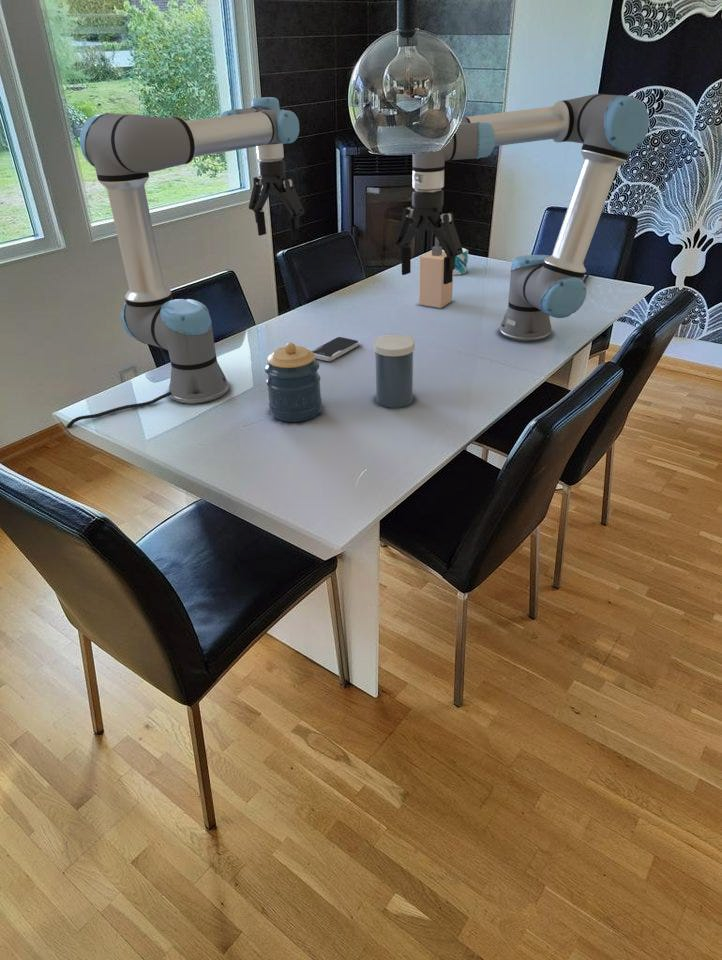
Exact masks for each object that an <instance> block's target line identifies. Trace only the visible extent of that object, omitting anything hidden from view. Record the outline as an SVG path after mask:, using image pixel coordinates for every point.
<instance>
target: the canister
mask: <svg viewBox="0 0 722 960" xmlns="http://www.w3.org/2000/svg"><path fill="white" fill-rule="evenodd" d="M312 351H313V350H309V349H308V348H306V347H304V346H299V345H296V344H294V343H293V342H287V343H286V344H285V346H283V347H279V348H277V349H275V350H274V351H273V352H272V353H270V354H269V355H268V356H267V359H266V360H267V364H265V367H264V372H265V373H266V375H267V378H266V382H265V383H266V385H267V393H268V400H269V402H268V406H269V410H270V413H271V415H272V417H273V418H275V419H276V420H279V421H282V422H288V423H289V422H290V423H296V422H297V423H298V422H304V421H308V420H311V419H313V418H315V417H317V416H318V415H319V414H320V413H321V411H322V408H323V399H322V392H321V376H320V374H319V372H318V370H319V369H320V363H319V361H318V359H316V358H315V354H314V353H313V352H312Z"/></svg>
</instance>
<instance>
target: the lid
mask: <svg viewBox="0 0 722 960" xmlns="http://www.w3.org/2000/svg"><path fill="white" fill-rule="evenodd" d="M415 343H416V342H415V339H414V338H413V337H411V336H409V335H405V334H397V333H396V334H387V335H386V334H385V335H381V336H378V337H377V338H375V339H374V340H373V352H376V353H378V354H380V355H384V356H403V355H407V354H410V353H411V352H413V353H414V351H415V347H416V344H415Z"/></svg>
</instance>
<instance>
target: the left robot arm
mask: <svg viewBox="0 0 722 960" xmlns="http://www.w3.org/2000/svg"><path fill="white" fill-rule="evenodd" d="M299 135H300V121H299V118H298V116H297V115H296V113H295V112H293V111H292V110H286V109H281V108H280V101H279V99H278V98H277V97H273V96H265V97H255V98H252V99H251V106H250V107H248V108H236V109H235V108H234V109H233V108H231V109H230V110H225V111H223V112H222V113H220V116H213V117H206V118H199V119H190V120H185V119H184V118H182V117H180V116H171V117H165V116H164V117H163V116H161V117H160V116H152V115H145V114H136V113H134V114H130V113H129V114H128V113H115V112H114V113H113V112H105V113H99V114H95V115H92V116H91V117H90V118H88V119H87V120H86V121H85V122H84V124H83V126H82V128H81V131H80V135H79V145H80V151H81V154H82V155H83V158H84V159H85V160H86V162H88V163H89V164H90V166H92V167H93V168H94V169H95V172H96V173H95V174H96V178H97V181H98V183H99V184H100V185H102V186H103V187H104V188H105V189H106V191H107V195H108V200H109V206H110V209H111V213H112V218H113V223H114V228H115V232H116V236H117V240H118V245H119V250H120V254H121V258H122V259H121V260H122V263H123V267H124V273H125V277H126V282H127V286H128V290H127V292H126V293H125V295H124V300H125V302H124V303H123V308H122V309H121V310H120V311H121V312H120V319H121V324H122V327H123V328H124V330H125V332H126V333H127V334H128V335H129V336H130V337H131V338H133V340H136V341H138V342H140V343H142V344H143V345H144V344H145V345H151V346H154V347H157V348H160V349H163V350H167V352H168V356H169V361H170V367H171V369H170V370H171V371H170V377H169V386H168V392H166V393H164V394H162V395H159V396H158V397H155V398H154V399H152V400H148V401H145V402H139V403H132V404H125V405H122V406H118V407H114V408H111V409H107V410H105V411H101V412H98V413H94V414H93V413H92V414H87V415H80V416H77V417H75V418H73V419H71V420H70V421H69V422H68V423H67V425H66V426H65V429H70V428H71V427H72V426H73V425H74V424H75V423H77V422H79V421H82V420H87V419H95V418H100V417H103V416H106V415H109V414H112V413H115V412H119V411H122V410H127V409H133V408H140V407H146V406H151V405H153V404H155V403H157V402H159V401H161V400H163V399H165V398H168V397H170V398H171V400H173V401H175V402H177V403H180V404H188V405H189V404H190V405H196V404H197V405H198V404H204V403H208V402H212V401H214V400H217V399H219V398H221V397H223V396H224V395H225V394H227V392H228V391H229V383H228V379H227V378H226V375H225V374H224V372H223V370H222V368H221V366H220V363H219V362H218V358H217V352H216V346H215V338H214V331H213V326H212V325H213V324H212V319H211V315H210V310H209V309H208V308H207V306H206V305H205V304H204V303H202V302H200V301H198V300H195V299H191V298H187V299H184V298H177V299H173V294H172V291H171V289H170V288H168V287H167V286H166V285H165V284H164V280H163V273H162V270H161V263H160V258H159V254H158V253H159V252H158V249H157V248H158V247H157V243H156V238H155V232H154V229H153V223H152V218H151V212H150V208H149V203H148V198H147V193H146V187H145V186H146V183H147V182H148V180H149V179H150V173H153V172H158V171H162V170H166V169H170V168H175V167H178V166H183V165H187V164H190V163H191V162H193V160H194V158H199V157H205V156H210V155H215V154H221V153H227V152H232V151H237V150H243V149H249V148H255V147H256V157H257V160H259V161H258V163H257V166H258V174H259V175H258V176H254V177H253V179H252V181H253V182H252V183H253V186H252V190H251V195H250V198H249V203H248V209H249V210H251V211H253V213H254V219H255V223H256V225H257V226H256V227H257V235H258V236H264V235H267V227H266V226H267V225H266V218H265V211H264V210H263V208H264V206H265V204H266V203H267V201H268V198H269V197H270V196H274V197H277V198H278V199H280V200H281V202H282V204H283V206H285V208H286V210H287V211H288V213H289V215H290V217H289V227H290V229H289V230H290V239H291V240H290V241H292V242H295V241H297V240H300V227H301V223H300V222H301V221H300V216H303V215H305V214H306V213H305V210H304V206H303V205H302V202H301V200H300V197H299V195H298V193H297V190H296V188H295V182H294V179H292V178H290V179H285V175H286V163H285V162H286V161H285V159H284V158H285V154H284V145H286V144H292V143H294V142H295V141H296V140H297V139H298V137H299Z"/></svg>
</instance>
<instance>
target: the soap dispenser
mask: <svg viewBox="0 0 722 960" xmlns="http://www.w3.org/2000/svg"><path fill="white" fill-rule="evenodd" d="M446 256H447V255H446V253H445V252H444V251H443V248H442V246H441V245H440V243H439V241H438V239H437V237H436V236H434V246H432V247H431V250H430V251H428V252H426V253H424V254H422V255H419V267H418V268H419V270H418V271H419V273H418V274H419V276H418V278H419V279H418V305H420V306H426V307H432V308H439V309H442V308H443V307H445V306H446V305H448V304H449V303H451V302H453V287H454V275H453V274H452V282H450V283H448V284H443V277H444V257H446Z"/></svg>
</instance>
